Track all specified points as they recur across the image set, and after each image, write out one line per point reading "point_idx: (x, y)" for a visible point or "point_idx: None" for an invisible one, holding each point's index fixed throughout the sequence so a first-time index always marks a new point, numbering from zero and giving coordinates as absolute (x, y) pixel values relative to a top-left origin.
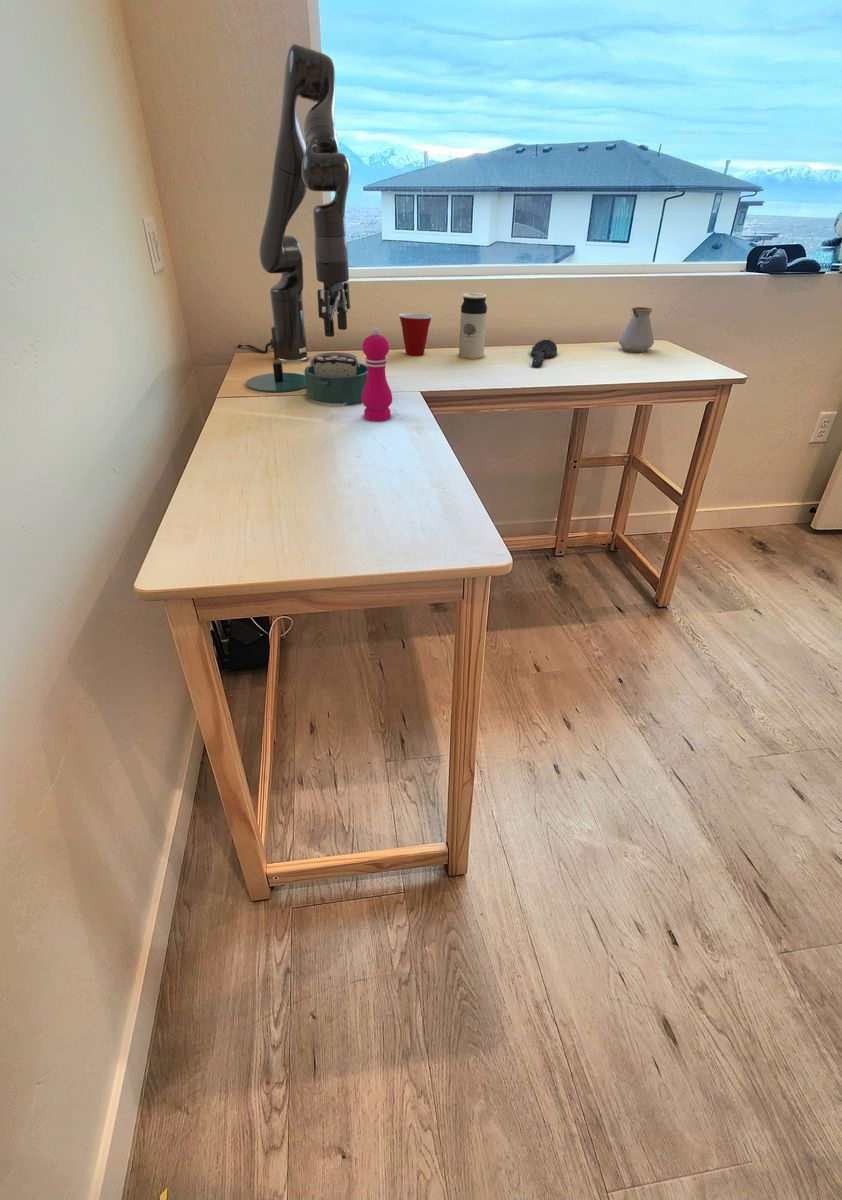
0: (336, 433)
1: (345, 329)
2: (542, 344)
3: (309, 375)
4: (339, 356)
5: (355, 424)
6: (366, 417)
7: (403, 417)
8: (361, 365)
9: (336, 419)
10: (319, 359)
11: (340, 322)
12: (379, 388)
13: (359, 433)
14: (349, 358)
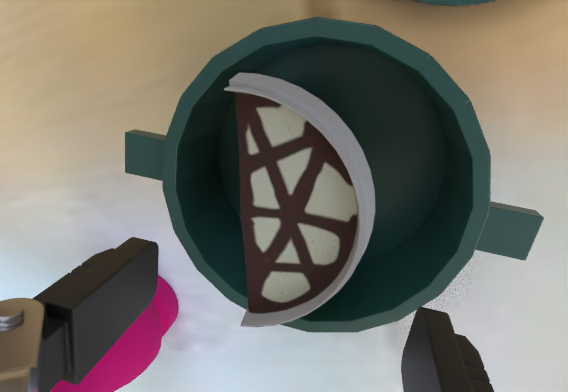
0: (4, 212)
1: (402, 358)
2: None
3: (197, 78)
4: (349, 223)
5: (78, 250)
6: None
7: (164, 357)
8: (414, 292)
9: (96, 195)
10: (256, 125)
11: (422, 364)
12: None
13: (26, 265)
14: (315, 277)
